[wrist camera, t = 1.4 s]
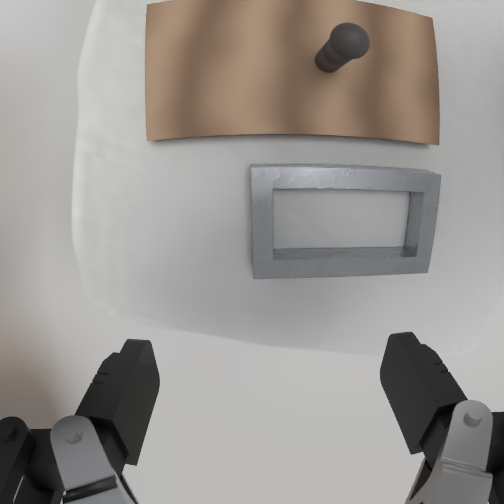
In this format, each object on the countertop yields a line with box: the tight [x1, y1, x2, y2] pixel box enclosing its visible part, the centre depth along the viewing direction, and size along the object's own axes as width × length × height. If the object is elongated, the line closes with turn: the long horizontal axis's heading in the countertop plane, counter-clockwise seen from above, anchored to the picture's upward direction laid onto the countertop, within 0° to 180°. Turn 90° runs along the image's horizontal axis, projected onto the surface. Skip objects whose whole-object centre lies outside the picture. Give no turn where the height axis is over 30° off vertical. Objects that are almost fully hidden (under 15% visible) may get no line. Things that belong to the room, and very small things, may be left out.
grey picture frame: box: [251, 164, 441, 279], centre depth 26 cm, size 16×9×3 cm, turn 91°
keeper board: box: [145, 0, 440, 145], centre depth 18 cm, size 24×12×9 cm, turn 91°
